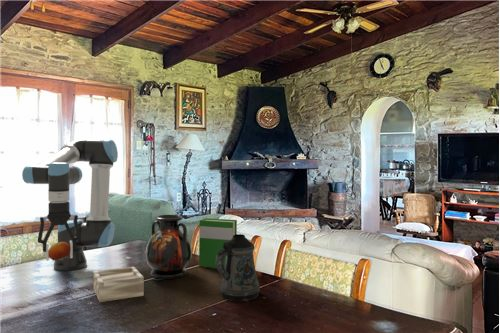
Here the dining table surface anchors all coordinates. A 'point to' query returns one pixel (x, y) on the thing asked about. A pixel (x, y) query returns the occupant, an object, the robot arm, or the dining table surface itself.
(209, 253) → the hardback book
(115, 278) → the square tray
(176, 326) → the dining table surface
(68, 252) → the fruit
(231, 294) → the beer stein
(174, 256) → the amphora vase
